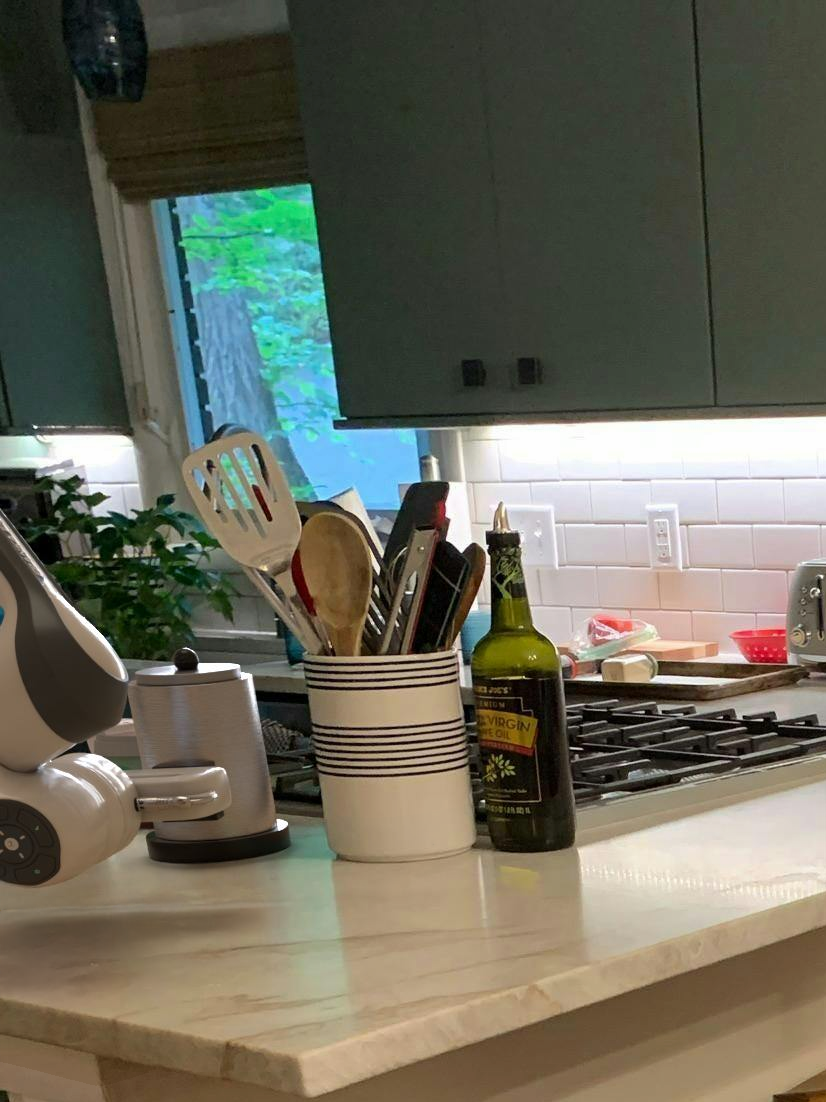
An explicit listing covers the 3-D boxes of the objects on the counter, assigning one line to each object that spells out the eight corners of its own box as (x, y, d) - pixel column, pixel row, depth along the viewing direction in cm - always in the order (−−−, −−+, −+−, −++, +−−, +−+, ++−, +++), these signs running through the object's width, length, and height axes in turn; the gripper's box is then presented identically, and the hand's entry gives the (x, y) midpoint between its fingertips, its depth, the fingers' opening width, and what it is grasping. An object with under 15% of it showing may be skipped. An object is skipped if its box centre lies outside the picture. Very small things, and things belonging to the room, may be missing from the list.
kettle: (269, 861, 194) (232, 653, 186) (127, 868, 193) (84, 659, 185) (311, 828, 210) (279, 636, 202) (180, 834, 209) (143, 641, 201)
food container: (86, 830, 213) (66, 737, 209) (117, 820, 219) (99, 729, 214) (188, 830, 211) (170, 736, 207) (217, 820, 216) (200, 728, 212)
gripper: (199, 764, 164) (243, 741, 176) (-47, 775, 163) (16, 751, 175) (213, 839, 166) (256, 811, 179) (-29, 850, 165) (31, 821, 178)
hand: (135, 781), depth 177 cm, fingers closed
